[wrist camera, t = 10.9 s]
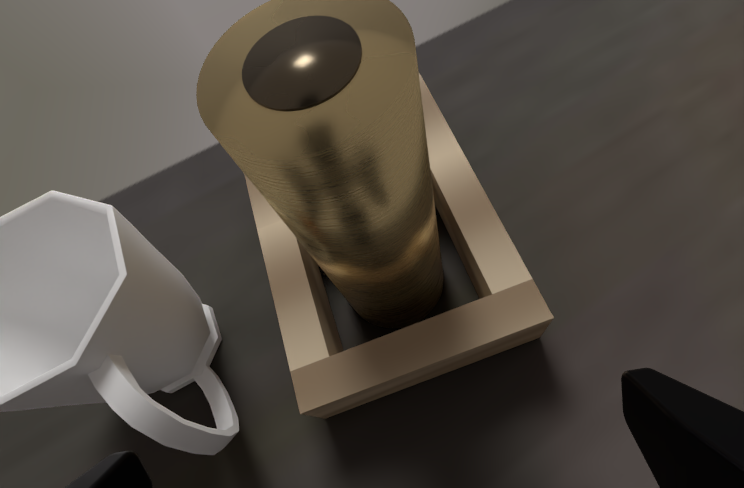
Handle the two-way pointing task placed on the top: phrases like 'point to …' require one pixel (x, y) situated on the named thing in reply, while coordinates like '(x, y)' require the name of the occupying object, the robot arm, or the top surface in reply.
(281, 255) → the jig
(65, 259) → the cup
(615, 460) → the top surface
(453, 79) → the top surface
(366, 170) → the tan piece
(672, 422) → the robot arm
